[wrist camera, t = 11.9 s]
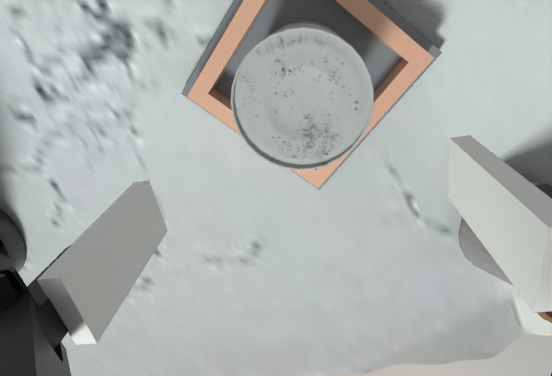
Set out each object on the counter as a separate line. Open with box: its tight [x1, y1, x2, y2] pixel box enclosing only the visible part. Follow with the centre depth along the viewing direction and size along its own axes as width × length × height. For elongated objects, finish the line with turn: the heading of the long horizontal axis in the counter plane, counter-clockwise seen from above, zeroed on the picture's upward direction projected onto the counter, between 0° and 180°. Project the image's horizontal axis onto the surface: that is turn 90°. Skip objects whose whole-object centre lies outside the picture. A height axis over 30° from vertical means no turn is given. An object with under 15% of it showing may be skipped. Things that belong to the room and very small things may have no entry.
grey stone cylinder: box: [231, 21, 374, 170], centre depth 29 cm, size 10×10×12 cm
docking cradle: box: [181, 0, 442, 189], centre depth 34 cm, size 18×18×4 cm
